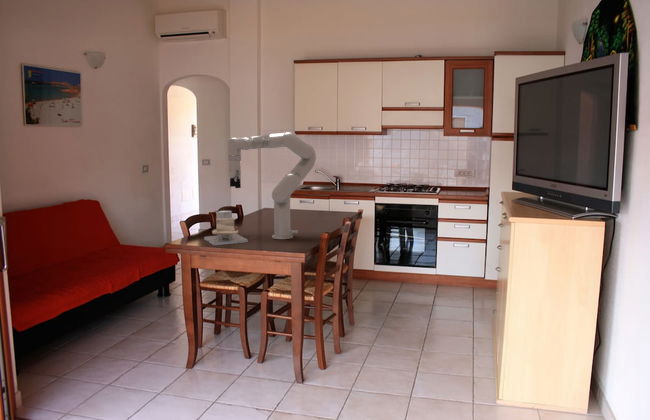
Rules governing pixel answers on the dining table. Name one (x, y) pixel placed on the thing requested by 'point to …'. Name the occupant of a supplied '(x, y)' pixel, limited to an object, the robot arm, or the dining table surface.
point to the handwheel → (225, 227)
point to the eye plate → (225, 239)
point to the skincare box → (224, 214)
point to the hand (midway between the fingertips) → (235, 187)
